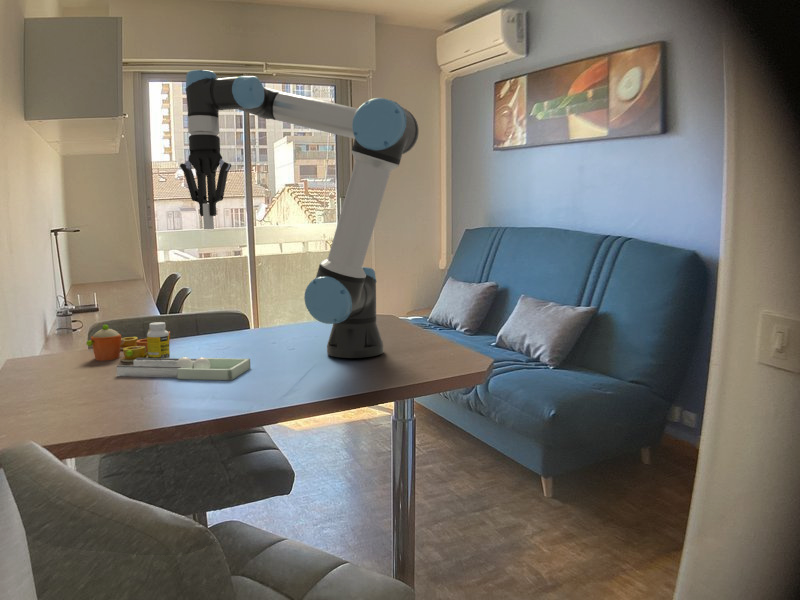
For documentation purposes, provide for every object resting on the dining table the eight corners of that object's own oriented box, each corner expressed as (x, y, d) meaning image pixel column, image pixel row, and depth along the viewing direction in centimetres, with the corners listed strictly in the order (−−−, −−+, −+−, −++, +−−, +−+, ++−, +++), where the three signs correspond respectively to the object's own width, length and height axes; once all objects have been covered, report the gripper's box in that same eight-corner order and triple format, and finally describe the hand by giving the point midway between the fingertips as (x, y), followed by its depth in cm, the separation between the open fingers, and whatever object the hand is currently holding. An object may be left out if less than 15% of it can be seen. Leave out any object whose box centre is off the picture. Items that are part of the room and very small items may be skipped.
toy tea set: (141, 364, 164) (139, 328, 162) (82, 365, 164) (79, 328, 163) (179, 345, 189) (177, 313, 188) (128, 345, 190) (126, 313, 189)
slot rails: (198, 368, 157) (197, 358, 156) (180, 377, 148) (180, 367, 148) (137, 367, 159) (137, 357, 159) (117, 376, 150) (116, 365, 150)
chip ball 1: (190, 374, 154) (198, 361, 154) (184, 376, 151) (192, 363, 150) (177, 366, 155) (185, 353, 154) (170, 368, 151) (178, 354, 151)
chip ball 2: (210, 354, 153) (196, 357, 153) (203, 357, 149) (188, 361, 150) (214, 369, 153) (200, 372, 154) (208, 372, 149) (193, 376, 150)
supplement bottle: (163, 362, 165) (160, 325, 164) (144, 361, 166) (141, 324, 165) (174, 357, 170) (172, 321, 169) (155, 357, 171) (153, 321, 170)
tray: (250, 368, 156) (250, 358, 156) (231, 380, 145) (230, 370, 144) (200, 367, 158) (200, 357, 158) (177, 379, 146) (177, 369, 146)
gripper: (234, 136, 163) (238, 228, 165) (186, 138, 164) (191, 229, 167) (222, 132, 155) (227, 229, 158) (172, 134, 157) (178, 229, 160)
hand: (208, 229), depth 163 cm, fingers closed
